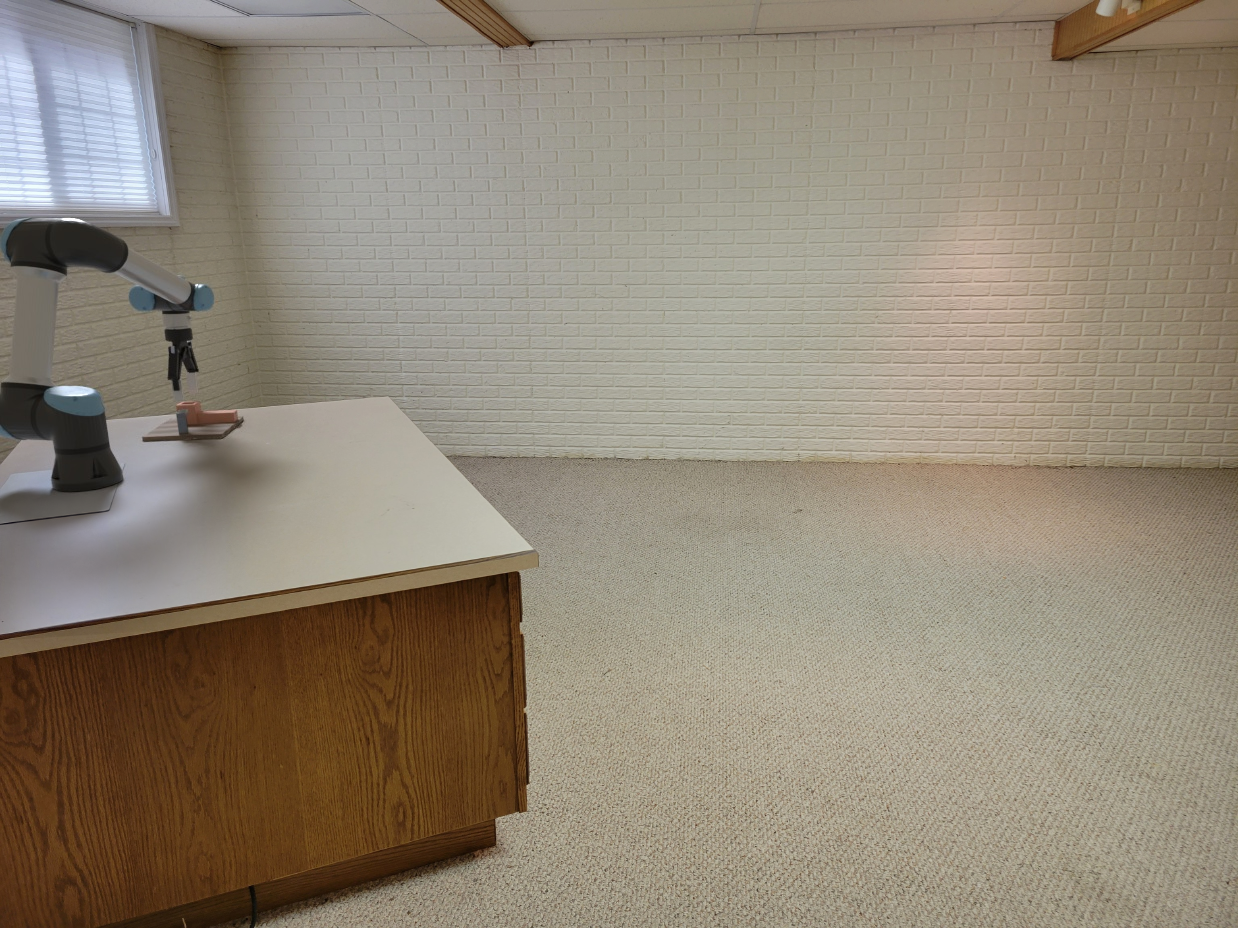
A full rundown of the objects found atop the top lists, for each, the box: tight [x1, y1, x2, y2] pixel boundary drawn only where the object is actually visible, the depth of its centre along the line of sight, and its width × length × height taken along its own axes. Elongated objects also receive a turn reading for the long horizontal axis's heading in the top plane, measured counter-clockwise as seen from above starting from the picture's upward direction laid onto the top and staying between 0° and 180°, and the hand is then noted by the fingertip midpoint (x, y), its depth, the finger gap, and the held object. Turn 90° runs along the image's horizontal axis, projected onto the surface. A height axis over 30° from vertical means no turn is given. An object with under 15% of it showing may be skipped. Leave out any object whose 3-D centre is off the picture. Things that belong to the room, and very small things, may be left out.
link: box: [175, 400, 239, 424], centre depth 276 cm, size 16×5×6 cm, turn 98°
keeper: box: [175, 409, 189, 434], centre depth 263 cm, size 6×2×7 cm, turn 18°
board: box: [141, 416, 245, 442], centre depth 271 cm, size 24×22×1 cm
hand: (186, 397), depth 274 cm, fingers open, 13 cm apart
